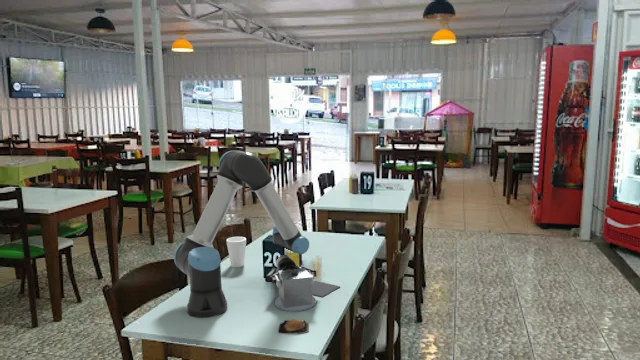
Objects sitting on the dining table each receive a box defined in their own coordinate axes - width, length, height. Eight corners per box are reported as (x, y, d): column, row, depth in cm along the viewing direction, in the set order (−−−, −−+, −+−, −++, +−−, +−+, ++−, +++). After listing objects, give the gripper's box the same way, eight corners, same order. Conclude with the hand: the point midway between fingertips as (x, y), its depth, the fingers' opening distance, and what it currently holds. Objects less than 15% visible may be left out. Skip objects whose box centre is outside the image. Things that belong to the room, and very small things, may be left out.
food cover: (312, 304, 195) (311, 272, 193) (284, 307, 193) (283, 276, 191) (305, 294, 206) (304, 264, 204) (279, 297, 203) (277, 267, 201)
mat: (322, 297, 205) (322, 296, 205) (296, 290, 212) (296, 290, 212) (339, 287, 215) (339, 286, 215) (315, 281, 223) (315, 280, 223)
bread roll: (309, 324, 182) (309, 314, 181) (308, 335, 174) (308, 324, 173) (279, 324, 182) (279, 315, 181) (277, 335, 174) (277, 325, 173)
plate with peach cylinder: (299, 315, 188) (298, 303, 188) (266, 305, 198) (266, 294, 197) (323, 300, 201) (323, 289, 201) (292, 292, 210) (291, 281, 210)
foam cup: (249, 262, 252) (248, 236, 250) (244, 268, 242) (243, 242, 240) (230, 262, 253) (229, 236, 250) (225, 268, 243) (224, 241, 241)
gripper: (314, 270, 222) (327, 287, 201) (257, 276, 216) (264, 295, 195) (314, 254, 221) (326, 269, 200) (256, 259, 215) (263, 276, 194)
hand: (295, 282), depth 198 cm, fingers open, 13 cm apart
